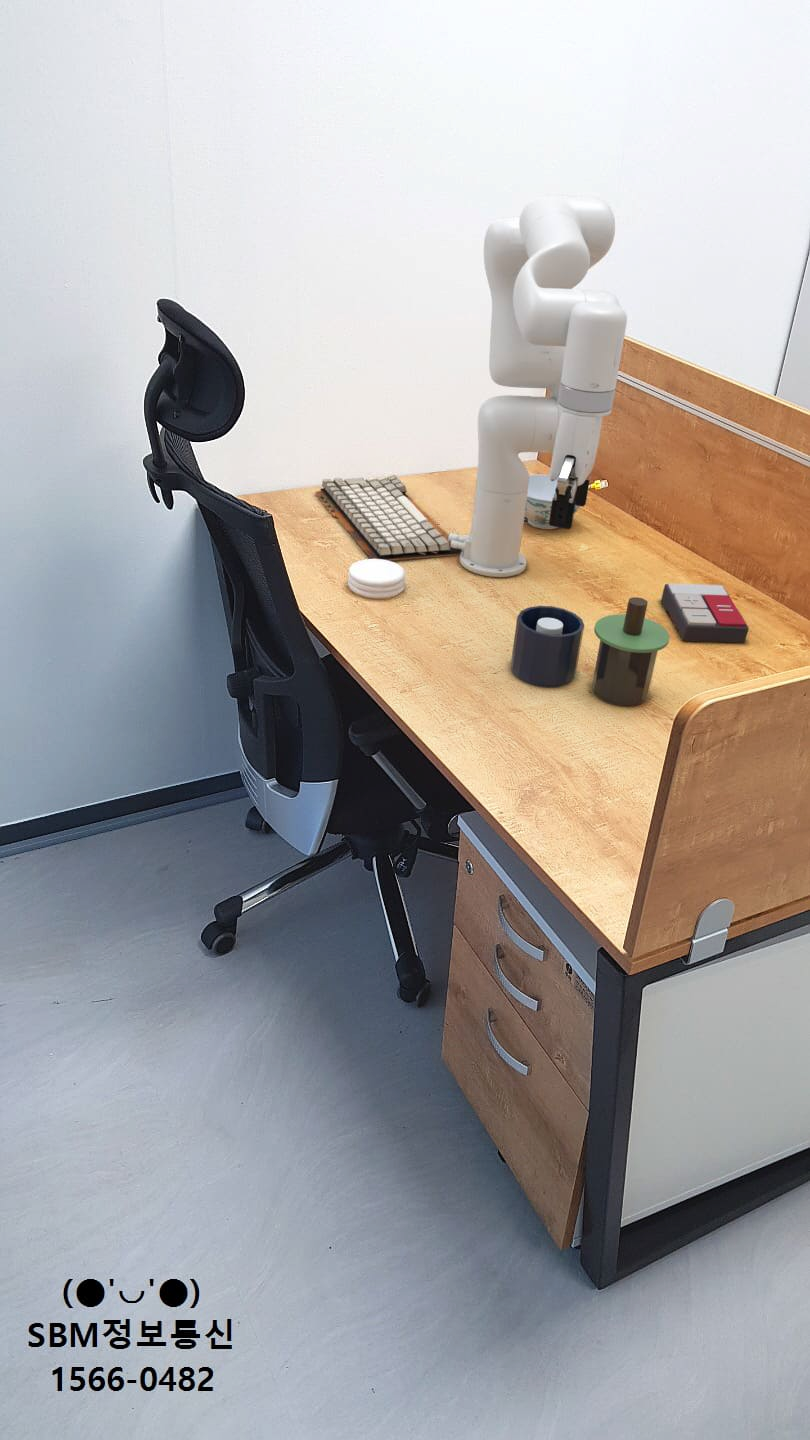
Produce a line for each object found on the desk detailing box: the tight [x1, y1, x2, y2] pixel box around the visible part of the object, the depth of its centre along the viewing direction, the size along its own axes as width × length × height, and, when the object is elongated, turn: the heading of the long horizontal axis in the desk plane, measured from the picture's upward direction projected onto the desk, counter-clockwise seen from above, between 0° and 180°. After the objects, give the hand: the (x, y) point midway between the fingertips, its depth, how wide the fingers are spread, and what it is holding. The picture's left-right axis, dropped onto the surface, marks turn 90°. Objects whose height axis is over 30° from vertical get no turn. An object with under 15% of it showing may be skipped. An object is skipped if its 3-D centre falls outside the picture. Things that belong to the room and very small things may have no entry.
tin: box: [510, 605, 585, 689], centre depth 172 cm, size 10×10×9 cm
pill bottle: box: [536, 618, 563, 635], centre depth 171 cm, size 5×5×8 cm
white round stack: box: [347, 558, 406, 600], centre depth 195 cm, size 10×10×4 cm
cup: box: [591, 639, 659, 708], centre depth 168 cm, size 9×9×10 cm
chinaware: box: [524, 473, 581, 530], centre depth 225 cm, size 15×15×8 cm
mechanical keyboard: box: [314, 474, 462, 562], centre depth 221 cm, size 38×19×3 cm, turn 22°
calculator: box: [660, 582, 750, 644], centre depth 192 cm, size 11×4×15 cm
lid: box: [593, 596, 671, 653], centre depth 164 cm, size 11×11×6 cm
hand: (567, 515), depth 160 cm, fingers open, 9 cm apart
